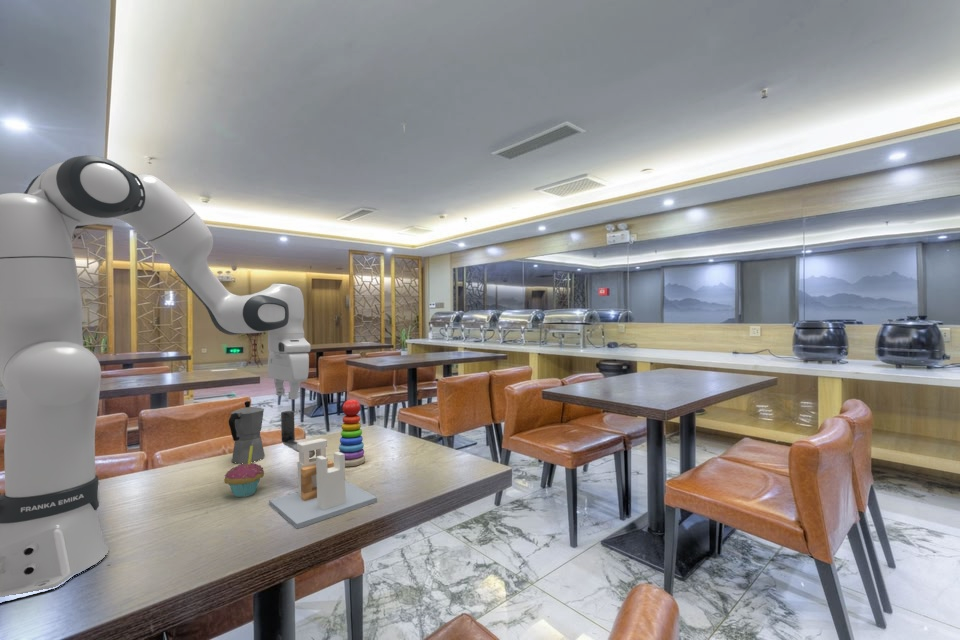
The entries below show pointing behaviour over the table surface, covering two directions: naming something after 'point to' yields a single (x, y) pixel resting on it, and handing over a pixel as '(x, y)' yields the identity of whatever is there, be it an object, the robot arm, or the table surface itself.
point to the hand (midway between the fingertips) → (286, 397)
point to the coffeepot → (246, 433)
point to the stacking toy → (352, 435)
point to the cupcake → (244, 477)
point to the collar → (309, 481)
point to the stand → (321, 489)
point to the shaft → (290, 431)
